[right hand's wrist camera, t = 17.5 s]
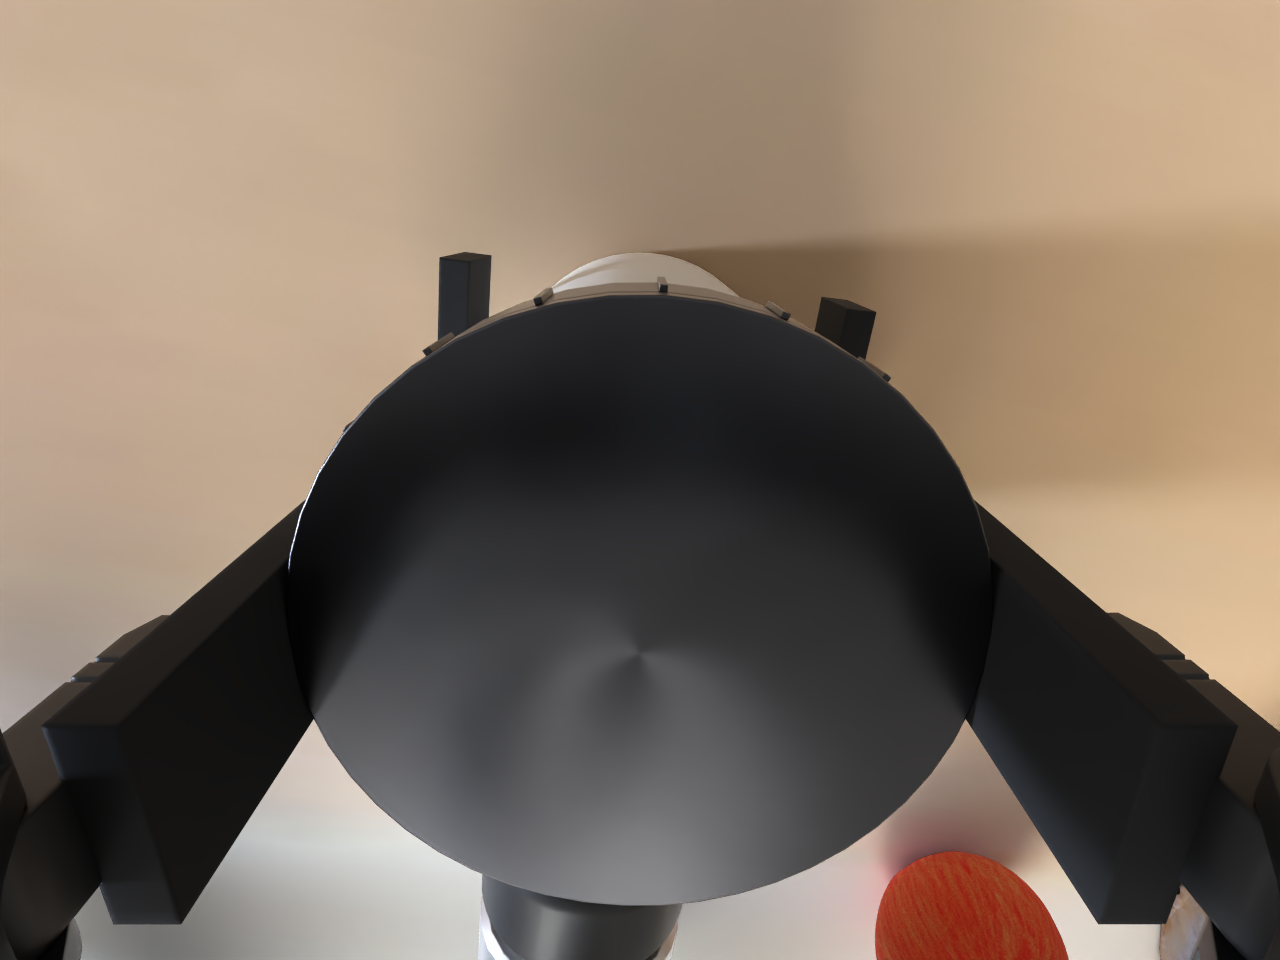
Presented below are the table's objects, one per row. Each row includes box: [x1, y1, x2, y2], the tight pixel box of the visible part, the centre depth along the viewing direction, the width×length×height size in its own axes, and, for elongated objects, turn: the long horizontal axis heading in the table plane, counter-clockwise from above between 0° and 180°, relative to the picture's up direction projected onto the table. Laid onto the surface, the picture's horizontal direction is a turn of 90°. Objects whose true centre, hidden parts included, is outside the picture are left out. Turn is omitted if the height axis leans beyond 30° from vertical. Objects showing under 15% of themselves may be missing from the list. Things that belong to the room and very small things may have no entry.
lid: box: [286, 277, 993, 906], centre depth 11 cm, size 10×10×2 cm
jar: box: [551, 253, 739, 297], centre depth 19 cm, size 10×10×17 cm
